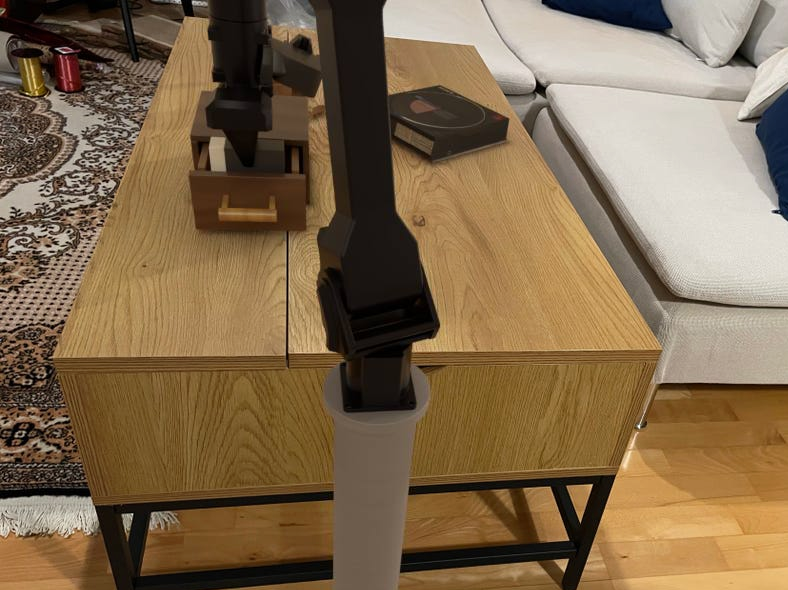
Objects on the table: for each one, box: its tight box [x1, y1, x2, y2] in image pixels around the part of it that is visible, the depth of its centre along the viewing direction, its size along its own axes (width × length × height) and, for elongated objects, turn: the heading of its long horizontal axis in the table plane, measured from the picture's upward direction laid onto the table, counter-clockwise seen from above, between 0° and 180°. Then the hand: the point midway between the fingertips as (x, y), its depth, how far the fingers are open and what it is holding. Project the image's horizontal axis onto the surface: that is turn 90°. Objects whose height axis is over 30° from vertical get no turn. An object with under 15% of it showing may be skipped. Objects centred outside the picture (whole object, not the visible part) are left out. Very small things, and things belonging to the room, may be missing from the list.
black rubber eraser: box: [209, 137, 285, 174], centre depth 81 cm, size 3×8×3 cm, turn 102°
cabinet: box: [189, 90, 311, 205], centre depth 92 cm, size 15×14×9 cm
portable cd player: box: [388, 84, 510, 164], centre depth 113 cm, size 16×17×4 cm
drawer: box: [188, 142, 308, 232], centre depth 83 cm, size 18×12×7 cm
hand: (249, 160), depth 81 cm, fingers closed on black rubber eraser, 3 cm apart
